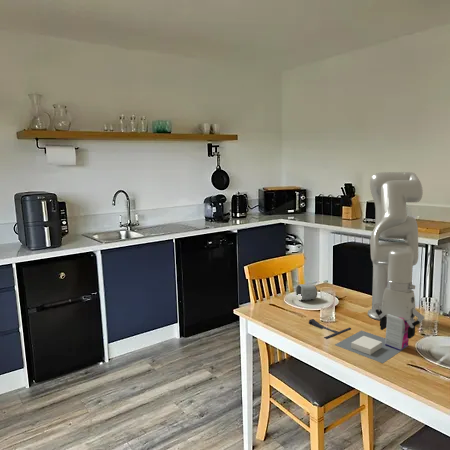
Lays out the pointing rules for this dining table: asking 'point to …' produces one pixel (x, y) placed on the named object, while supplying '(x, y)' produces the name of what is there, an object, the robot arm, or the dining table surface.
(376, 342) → the tile
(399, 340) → the supplement box
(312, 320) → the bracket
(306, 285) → the ceramic mug
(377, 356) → the mat
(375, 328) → the dining table surface
